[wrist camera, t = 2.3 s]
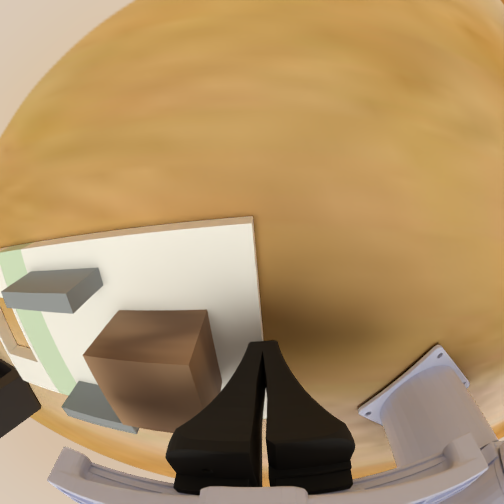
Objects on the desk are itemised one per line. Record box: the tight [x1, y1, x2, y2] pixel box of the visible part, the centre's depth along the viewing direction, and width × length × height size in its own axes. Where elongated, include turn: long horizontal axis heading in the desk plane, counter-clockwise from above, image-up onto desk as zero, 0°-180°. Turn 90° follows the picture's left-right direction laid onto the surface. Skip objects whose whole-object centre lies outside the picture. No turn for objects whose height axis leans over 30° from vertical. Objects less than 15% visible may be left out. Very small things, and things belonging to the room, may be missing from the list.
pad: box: [0, 242, 77, 395], centre depth 15 cm, size 4×13×2 cm, turn 5°
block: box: [83, 309, 222, 433], centre depth 12 cm, size 5×5×4 cm
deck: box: [0, 216, 267, 434], centre depth 14 cm, size 24×13×4 cm, turn 95°
